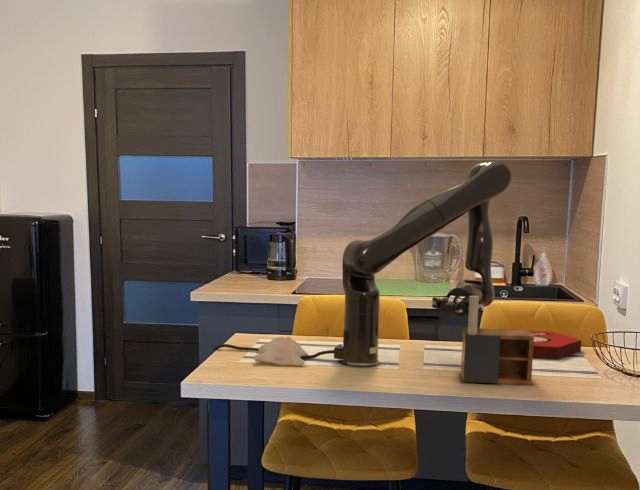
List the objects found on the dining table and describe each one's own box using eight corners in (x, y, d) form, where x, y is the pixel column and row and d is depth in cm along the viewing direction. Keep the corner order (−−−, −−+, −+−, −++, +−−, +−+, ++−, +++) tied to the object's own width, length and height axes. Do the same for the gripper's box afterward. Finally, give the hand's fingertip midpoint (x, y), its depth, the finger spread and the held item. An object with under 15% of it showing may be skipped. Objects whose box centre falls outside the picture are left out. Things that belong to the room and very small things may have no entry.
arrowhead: (252, 348, 195) (266, 326, 225) (252, 367, 196) (266, 342, 225) (306, 351, 194) (313, 328, 223) (305, 370, 195) (312, 345, 224)
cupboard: (463, 381, 181) (465, 333, 180) (460, 373, 189) (462, 327, 187) (531, 384, 179) (534, 336, 177) (525, 377, 187) (528, 330, 185)
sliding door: (463, 382, 179) (468, 296, 176) (463, 380, 181) (467, 295, 178) (497, 384, 178) (502, 297, 175) (496, 381, 180) (501, 296, 177)
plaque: (461, 341, 232) (516, 361, 204) (462, 330, 232) (517, 349, 203) (535, 337, 240) (598, 357, 211) (536, 327, 239) (599, 345, 210)
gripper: (438, 283, 193) (422, 291, 178) (490, 287, 188) (478, 294, 172) (437, 312, 194) (421, 322, 179) (488, 316, 189) (477, 326, 173)
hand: (449, 308), depth 176 cm, fingers closed
